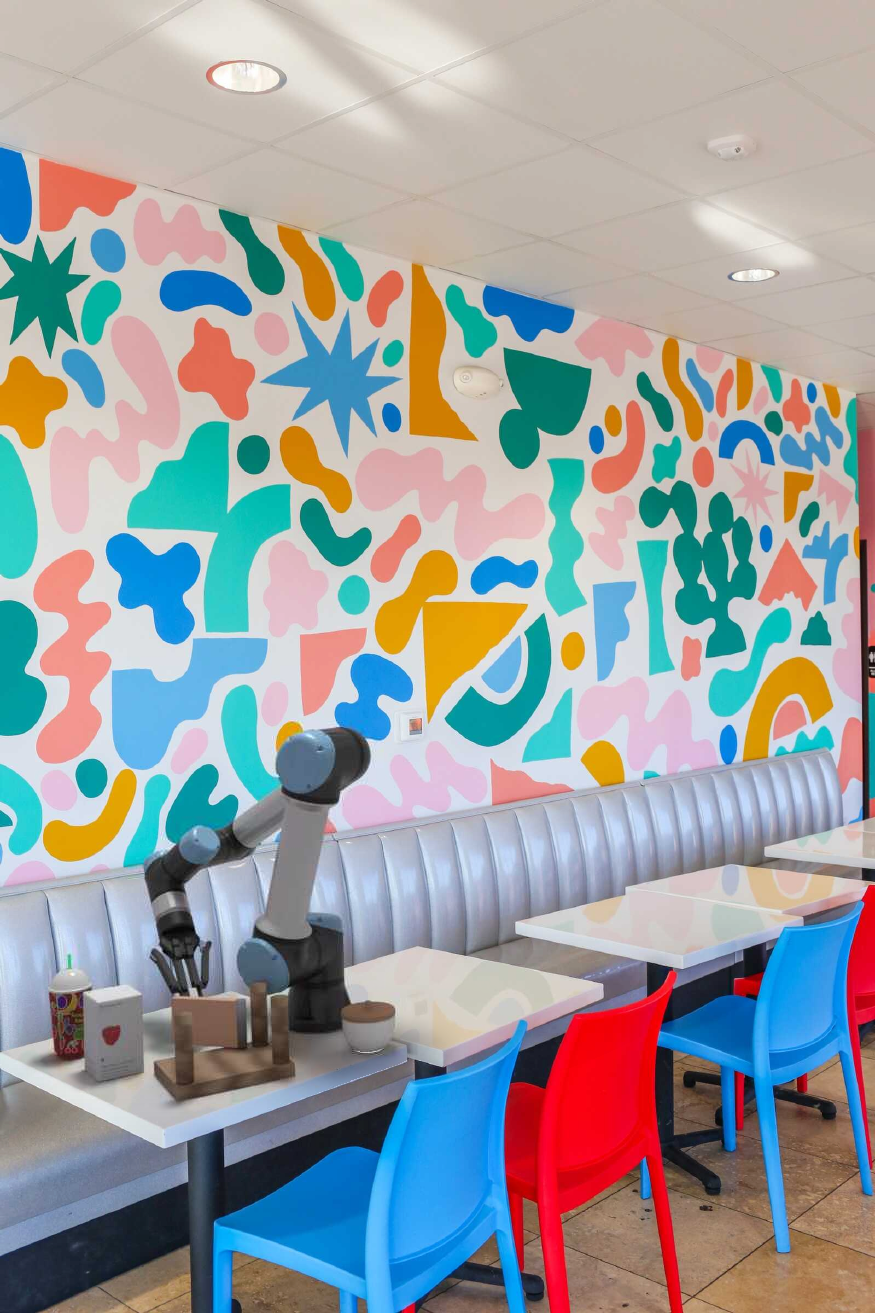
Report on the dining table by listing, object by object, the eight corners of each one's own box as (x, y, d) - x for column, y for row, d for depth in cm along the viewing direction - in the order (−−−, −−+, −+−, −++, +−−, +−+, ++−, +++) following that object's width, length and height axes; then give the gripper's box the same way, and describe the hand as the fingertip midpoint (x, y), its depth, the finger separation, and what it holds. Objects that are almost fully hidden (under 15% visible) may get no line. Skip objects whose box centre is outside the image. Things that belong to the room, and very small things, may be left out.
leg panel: (249, 1045, 226) (247, 998, 226) (244, 1048, 224) (243, 1001, 224) (176, 1041, 229) (175, 995, 229) (172, 1044, 227) (170, 998, 227)
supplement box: (97, 1083, 215) (95, 1002, 215) (83, 1069, 223) (81, 991, 223) (145, 1072, 220) (143, 993, 220) (130, 1059, 228) (127, 983, 228)
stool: (265, 1051, 230) (262, 978, 230) (295, 1076, 216) (292, 998, 216) (154, 1074, 219) (151, 997, 219) (178, 1101, 205) (175, 1019, 205)
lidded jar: (332, 1047, 231) (330, 1000, 231) (377, 1036, 237) (376, 990, 237) (360, 1062, 222) (358, 1012, 222) (407, 1049, 228) (405, 1001, 228)
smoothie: (81, 1063, 226) (77, 960, 226) (42, 1061, 228) (38, 959, 228) (102, 1048, 235) (98, 949, 235) (64, 1047, 236) (60, 948, 236)
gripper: (200, 924, 249) (226, 1024, 235) (139, 933, 243) (161, 1036, 229) (207, 905, 245) (234, 1006, 230) (145, 912, 238) (168, 1017, 224)
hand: (198, 1021), depth 230 cm, fingers closed
